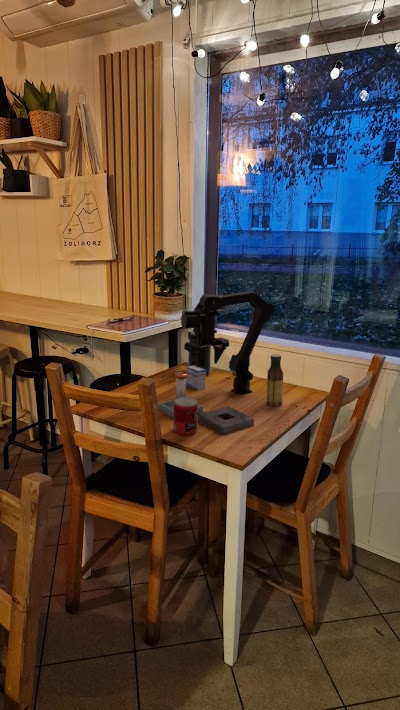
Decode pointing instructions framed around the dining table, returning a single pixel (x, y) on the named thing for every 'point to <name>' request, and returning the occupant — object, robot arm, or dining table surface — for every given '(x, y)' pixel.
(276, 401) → the sauce bottle
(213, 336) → the robot arm
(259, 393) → the dining table surface
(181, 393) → the hitch pin
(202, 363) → the wine bottle
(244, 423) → the block
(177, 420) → the canned food
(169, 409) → the tray
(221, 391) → the dining table surface
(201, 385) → the medicine box
